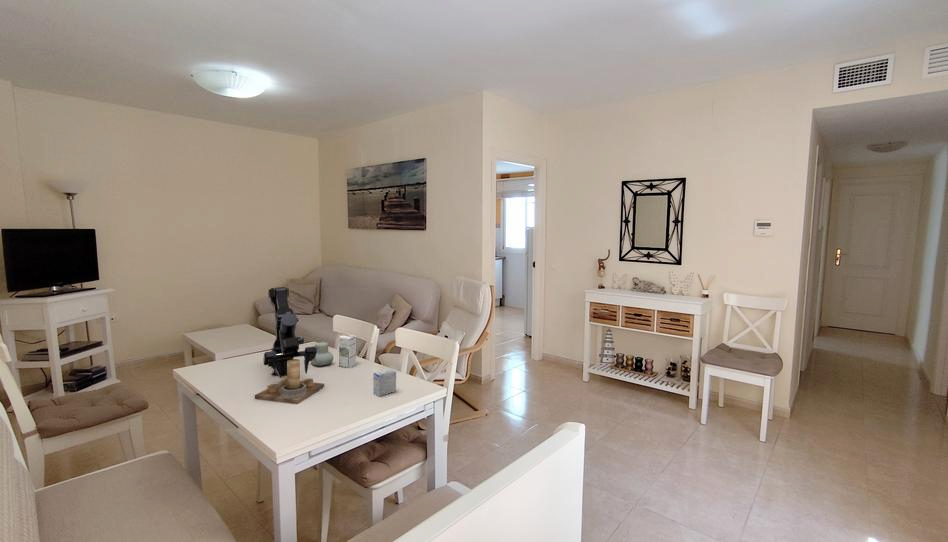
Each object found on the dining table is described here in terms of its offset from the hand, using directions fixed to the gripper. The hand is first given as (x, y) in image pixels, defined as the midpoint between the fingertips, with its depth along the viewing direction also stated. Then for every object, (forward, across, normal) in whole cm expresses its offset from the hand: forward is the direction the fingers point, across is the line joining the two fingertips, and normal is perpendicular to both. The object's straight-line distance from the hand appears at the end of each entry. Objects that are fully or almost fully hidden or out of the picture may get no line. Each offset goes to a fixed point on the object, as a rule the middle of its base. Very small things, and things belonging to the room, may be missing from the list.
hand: (293, 375), depth 163 cm
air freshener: (-20, +19, +34) cm, 44 cm away
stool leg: (+5, 0, +5) cm, 7 cm away
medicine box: (+15, +32, -2) cm, 35 cm away
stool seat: (+2, 0, +11) cm, 11 cm away
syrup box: (-14, +29, +28) cm, 43 cm away
